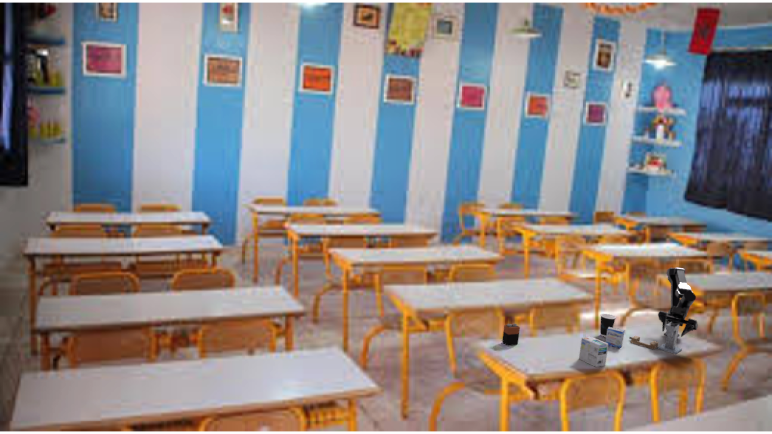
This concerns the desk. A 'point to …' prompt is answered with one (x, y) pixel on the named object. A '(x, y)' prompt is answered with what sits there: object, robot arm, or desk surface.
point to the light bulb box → (593, 351)
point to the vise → (637, 341)
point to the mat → (670, 349)
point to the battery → (511, 334)
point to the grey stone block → (671, 335)
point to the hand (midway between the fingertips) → (671, 333)
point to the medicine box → (614, 337)
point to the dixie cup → (606, 323)
